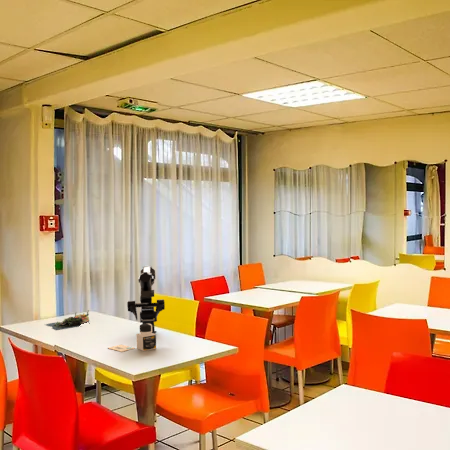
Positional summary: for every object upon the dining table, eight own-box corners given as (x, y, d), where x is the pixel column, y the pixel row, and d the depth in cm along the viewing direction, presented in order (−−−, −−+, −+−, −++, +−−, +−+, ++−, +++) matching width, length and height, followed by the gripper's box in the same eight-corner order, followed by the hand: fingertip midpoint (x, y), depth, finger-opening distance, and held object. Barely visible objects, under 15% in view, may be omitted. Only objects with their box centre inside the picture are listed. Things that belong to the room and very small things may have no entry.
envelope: (107, 348, 255) (107, 347, 255) (121, 345, 261) (121, 344, 261) (121, 352, 248) (121, 351, 248) (135, 348, 254) (135, 347, 254)
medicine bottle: (143, 351, 248) (142, 326, 248) (136, 348, 254) (135, 323, 254) (156, 348, 253) (155, 324, 252) (149, 345, 258) (148, 321, 258)
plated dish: (89, 317, 338) (89, 305, 338) (110, 324, 316) (109, 312, 316) (35, 326, 315) (35, 314, 315) (53, 334, 294) (53, 322, 294)
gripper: (126, 285, 264) (126, 310, 253) (163, 283, 266) (164, 309, 255) (128, 298, 272) (127, 323, 261) (164, 296, 274) (165, 321, 263)
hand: (146, 319), depth 260 cm, fingers open, 9 cm apart
